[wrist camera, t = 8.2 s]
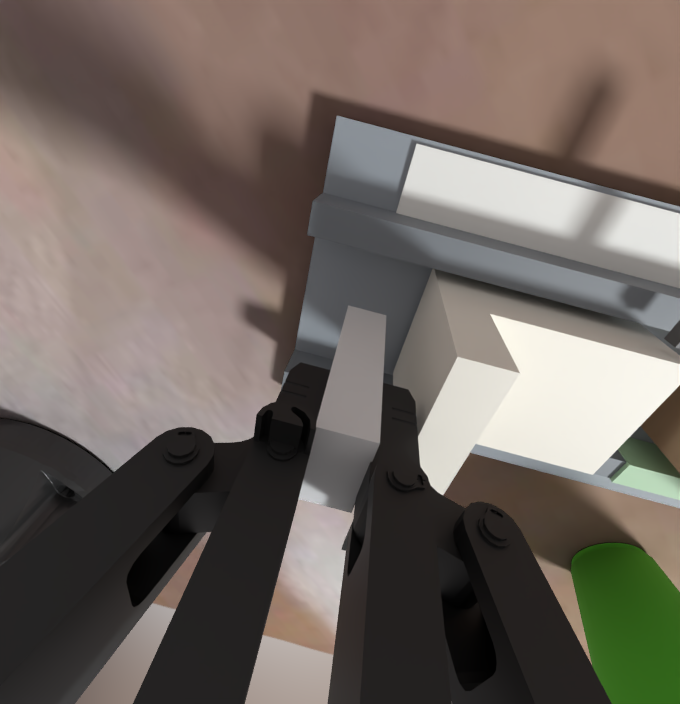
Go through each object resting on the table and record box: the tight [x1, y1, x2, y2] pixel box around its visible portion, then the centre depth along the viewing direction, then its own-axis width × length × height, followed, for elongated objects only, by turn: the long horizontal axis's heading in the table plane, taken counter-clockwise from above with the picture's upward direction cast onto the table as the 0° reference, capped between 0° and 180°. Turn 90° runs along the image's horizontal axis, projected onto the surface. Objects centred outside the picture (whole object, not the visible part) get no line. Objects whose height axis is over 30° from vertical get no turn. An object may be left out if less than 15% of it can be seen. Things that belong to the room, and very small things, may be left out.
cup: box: [571, 543, 680, 704], centre depth 21 cm, size 9×9×11 cm
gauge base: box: [281, 116, 680, 508], centre depth 14 cm, size 26×14×8 cm, turn 77°
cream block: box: [393, 269, 680, 495], centre depth 12 cm, size 9×11×7 cm
